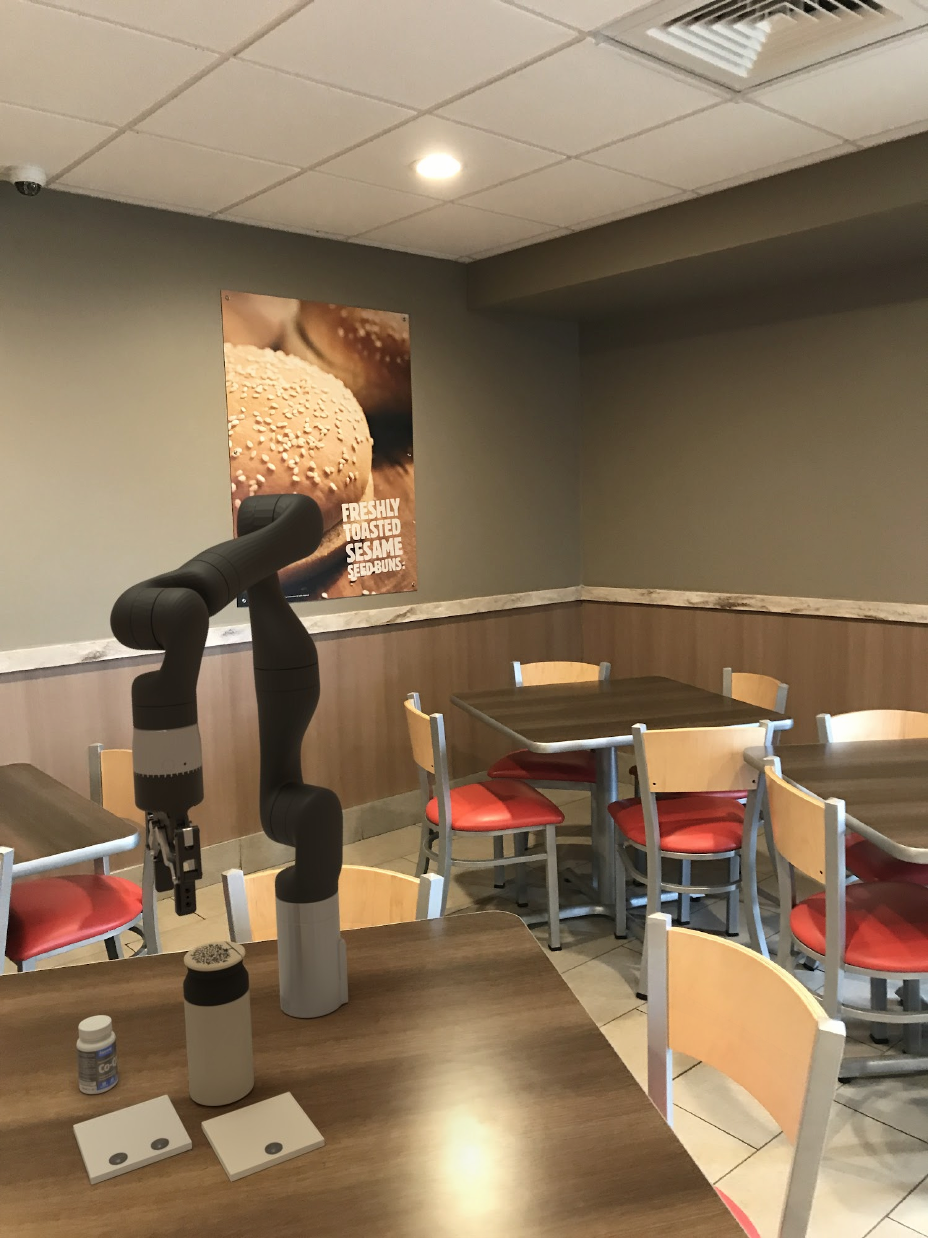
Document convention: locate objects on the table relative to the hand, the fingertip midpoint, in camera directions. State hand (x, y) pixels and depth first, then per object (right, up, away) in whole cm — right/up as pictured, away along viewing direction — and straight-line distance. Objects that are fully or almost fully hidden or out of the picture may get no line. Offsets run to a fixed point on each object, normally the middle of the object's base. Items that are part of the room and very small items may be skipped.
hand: (175, 901), depth 110 cm
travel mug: (+2, -27, +12) cm, 30 cm away
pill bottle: (-14, -28, +13) cm, 34 cm away
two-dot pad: (-6, -28, +2) cm, 29 cm away
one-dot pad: (+10, -28, +2) cm, 30 cm away
